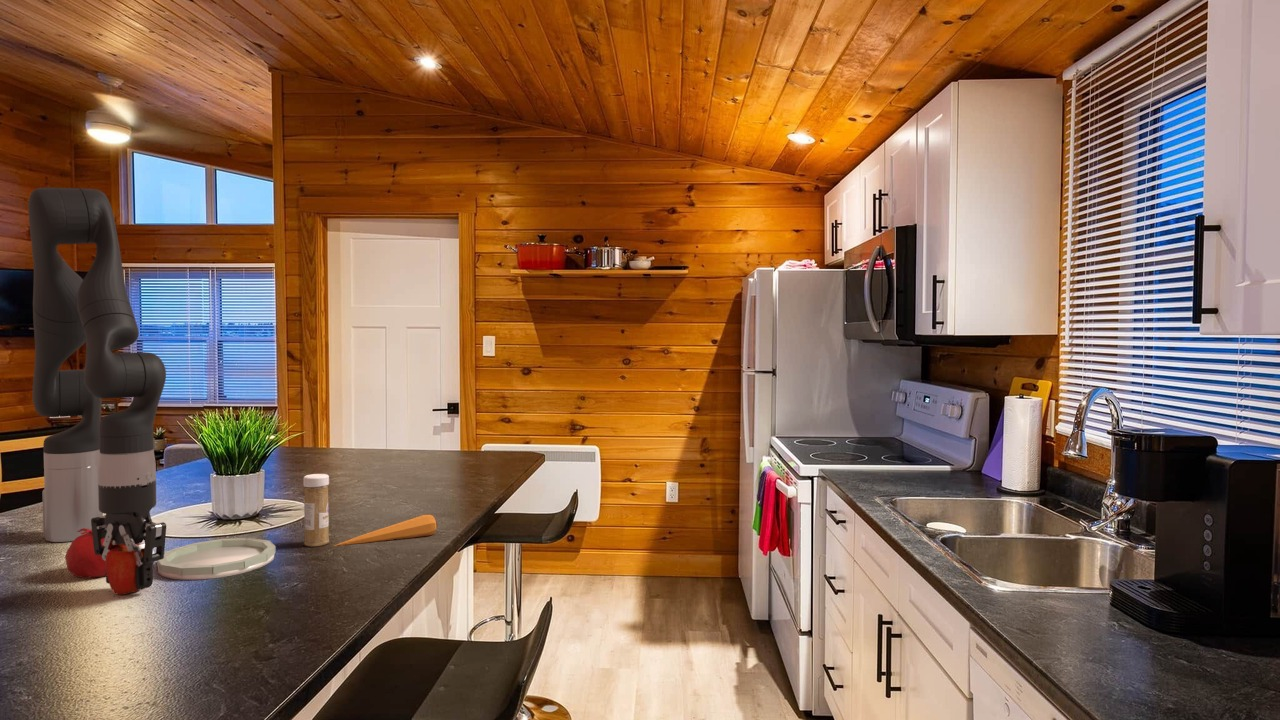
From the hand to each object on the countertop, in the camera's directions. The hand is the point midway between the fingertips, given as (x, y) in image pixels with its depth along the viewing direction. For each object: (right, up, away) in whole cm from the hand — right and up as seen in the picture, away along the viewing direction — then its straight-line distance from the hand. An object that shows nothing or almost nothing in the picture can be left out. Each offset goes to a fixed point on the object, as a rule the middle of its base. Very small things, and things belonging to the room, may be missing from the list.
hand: (129, 584), depth 119 cm
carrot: (+30, -1, +32) cm, 43 cm away
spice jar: (+18, 0, +28) cm, 33 cm away
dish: (+6, -1, +15) cm, 16 cm away
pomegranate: (-11, -1, +10) cm, 15 cm away
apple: (0, -1, 0) cm, 1 cm away
